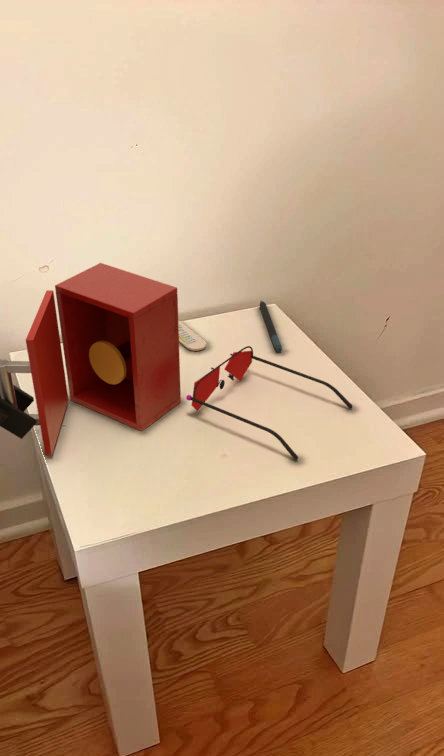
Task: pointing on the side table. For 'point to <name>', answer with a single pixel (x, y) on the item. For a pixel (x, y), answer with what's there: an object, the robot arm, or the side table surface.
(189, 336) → the beige remote control
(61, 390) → the door
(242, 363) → the glasses
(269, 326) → the pen
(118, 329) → the cabinet
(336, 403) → the side table surface
